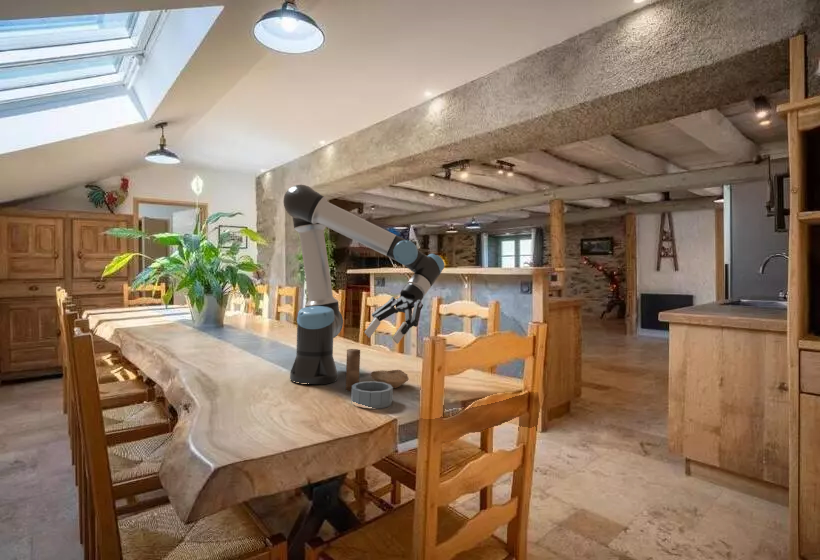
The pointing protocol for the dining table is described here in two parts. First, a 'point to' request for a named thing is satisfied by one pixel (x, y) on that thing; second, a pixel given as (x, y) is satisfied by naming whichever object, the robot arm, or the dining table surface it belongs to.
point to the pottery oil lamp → (390, 377)
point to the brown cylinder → (352, 368)
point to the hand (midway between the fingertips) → (380, 337)
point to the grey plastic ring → (372, 394)
